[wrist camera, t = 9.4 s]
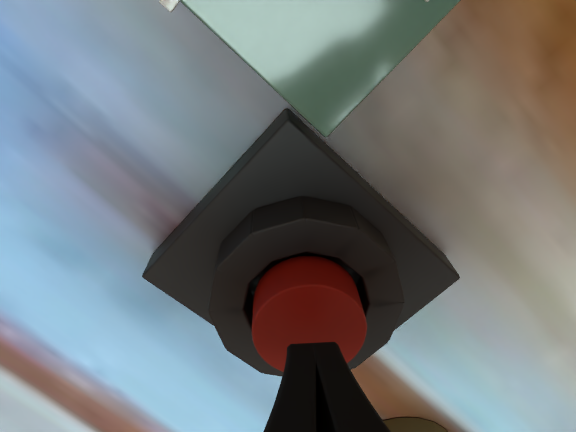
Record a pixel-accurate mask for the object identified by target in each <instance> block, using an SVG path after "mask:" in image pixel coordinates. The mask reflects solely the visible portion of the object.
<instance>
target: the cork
mask: <svg viewBox="0 0 576 432" xmlns="http://www.w3.org/2000/svg"><path fill="white" fill-rule="evenodd" d="M383 422H384V423H385V424H386V426H387V427H388V429H389V430H390V431H391V432H448V431H447V430H446V429H445V428H443V427H441V426H440V425H438V424H436V423H435V422H432V421H428V420H424V419H420V418H394V419H390V420H385V421H383Z"/></svg>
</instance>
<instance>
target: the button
mask: <svg viewBox="0 0 576 432" xmlns="http://www.w3.org/2000/svg"><path fill="white" fill-rule="evenodd" d="M366 332H367V322H366V317H365V314H364V310H363V307H362V304H361V300H360V297H359V294H358V290H357V287H356V284H355V282H354V280H353V278H352V277H351V275H350V274H349V273H348V272H347V271H346V270H345V269H344V268H343V267H341V266H340V265H339V264H337V263H335V262H333V261H331V260H328V259H326V258H322V257H317V256H298V257H294V258H290V259H287V260H284V261H282V262H280V263H278V264H276V265H275V266H273V267H272V268H271V269H269V270H268V271H267V272H266V273H265V274H264V275H263V277H262V278H261V279H260V281H259V283H258V285H257V287H256V290H255V293H254V301H253V317H252V339H253V343H254V346H255V348H256V350H257V352H258V353H259V354H260V356H261V357H262V358H263V359H264V360H265V361H266V362H267V363H268V364H270V365H271V366H272V367H274V368H276V369H278V370H280V371H282V372H284V368H285V363H286V356H287V347H288V346H289V345H290V344H299V343H319V342H336V343H337V344H338V345H339V348H340V350H341V352H342V354H343V357H344V359H345V361H346V363H348V362H349V361H351V360H352V359H353V358H354V357H355V356H356V354H357V353H358V352H359V350H360V349H361V347H362V345H363V343H364V341H365V337H366Z"/></svg>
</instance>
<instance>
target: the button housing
mask: <svg viewBox="0 0 576 432" xmlns="http://www.w3.org/2000/svg"><path fill="white" fill-rule="evenodd" d="M298 256H317V257H322V258H326V259H328V260H331V261H333V262H335V263H337V264H339V265H340V266H341V267H343V268H344V269H345V270H346V271H347V272H348V273H349V274H350V275H351V277H352V278H353V280H354V282H355V284H356V287H357V290H358V294H359V297H360V300H361V304H362V307H363V310H364V314H365V317H366V322H367V332H366V337H365V341H364V343H363V345H362V347H361V349H360V350H359V352H358V353H357V354H356V356H355V357H354V358H353V359H352V360H351V361H349V362H348V363H347V365H348V367H349V368H350V370H351V369H352V368H356V367H357V366H358V365H359V364H361V363H362V362H363V361H364V360H366V359H367V358H368V357H370V356H371V355H372V354H373V353H375V352H376V351H377V350H378V349H380V348H381V347H382V346H384V345H385V344H386V343H387V342H388V341H389V340H390V337H391V335H392V332H393V331H394V330H395V329H396V328H398V327H399V326H400V325H401V324H403V323H404V322H405V321H406V320H408V319H409V318H410V317H412V316H413V315H414V314H415V313H417V312H418V311H419V310H420V309H422V308H423V307H424V306H425V305H427V304H428V303H429V302H430V301H432V300H433V299H434V298H436V297H437V296H438V295H439V294H441V293H442V292H443V291H444V290H446V289H447V288H448V287H449V286H451V285H452V284H453V283H454V282H456V281H457V280H458V279H459V278H460V276H459V274H458V273H457V272H456V270H455V269H454V267H453V266H452V264H451V263H450V261H449V260H448V259H447V257H446V256H445V255H444V254H443V253H442V252H441V251H440V250H439V249H438V248H437V247H436V246H435V245H434V244H433V243H432V242H430V241H429V240H428V239H427V238H426V237H425V236H424V235H423V234H422V233H421V232H420V231H419V230H418V229H417V228H415V227H414V226H413V225H412V224H411V223H410V222H409V221H408V220H407V219H406V218H405V217H404V216H403V215H402V214H400V213H399V212H398V211H397V210H396V209H395V208H394V207H393V206H392V205H391V204H390V203H389V202H388V201H386V200H385V199H384V198H383V197H382V196H381V195H380V194H379V193H378V192H377V191H376V190H375V189H374V188H373V187H371V186H370V185H369V184H368V183H367V182H366V181H365V180H364V179H363V178H362V177H361V176H360V175H359V174H358V173H356V172H355V171H354V170H353V169H352V168H351V167H350V166H349V165H348V164H347V163H346V162H345V161H344V160H343V159H341V158H340V157H339V156H338V155H337V154H336V153H335V152H334V151H333V150H332V149H331V148H330V147H329V146H327V145H326V144H325V143H324V142H323V141H322V140H321V139H320V138H319V137H318V136H317V135H316V134H315V133H314V132H312V131H311V130H310V129H309V128H308V127H307V126H306V125H305V124H304V123H303V122H302V121H301V120H300V119H299V118H297V117H296V116H295V115H294V114H293V113H292V112H291V111H290V110H289V109H285V110H284V111H283V112H282V113H281V114H280V116H279V117H278V118H277V119H276V120H275V121H274V122H273V123H272V124H271V125H270V126H269V127H268V129H267V130H266V131H265V132H264V133H263V134H262V135H261V136H260V137H259V138H258V139H257V141H256V142H255V143H254V144H253V145H252V146H251V147H250V148H249V149H248V150H247V151H246V153H245V154H244V155H243V156H242V157H241V158H240V159H239V160H238V161H237V162H236V163H235V165H234V166H233V167H232V168H231V169H230V170H229V171H228V172H227V173H226V174H225V175H224V177H223V178H222V179H221V180H220V181H219V182H218V183H217V184H216V185H215V186H214V187H213V189H212V190H211V191H210V192H209V193H208V194H207V195H206V196H205V197H204V198H203V199H202V201H201V202H200V203H199V204H198V205H197V206H196V207H195V208H194V209H193V210H192V211H191V213H190V214H189V215H188V216H187V217H186V218H185V219H184V220H183V221H182V222H181V223H180V225H179V226H178V227H177V228H176V229H175V230H174V231H173V232H172V233H171V234H170V235H169V237H168V238H167V239H166V240H165V241H164V242H163V243H162V244H161V245H160V246H159V247H158V249H157V250H156V251H155V252H154V253H153V254H152V256H151V258H150V260H149V262H148V264H147V267H146V269H145V271H144V273H143V275H142V277H143V278H144V279H146V280H147V281H149V282H150V283H152V284H153V285H154V286H156V287H157V288H159V289H160V290H162V291H163V292H165V293H166V294H168V295H169V296H171V297H172V298H174V299H175V300H177V301H178V302H180V303H181V304H183V305H184V306H186V307H187V308H188V309H190V310H191V311H193V312H194V313H196V314H197V315H199V316H200V317H202V318H203V319H205V320H206V321H208V322H209V323H211V324H212V325H214V326H215V328H216V330H217V332H218V334H219V336H220V338H221V340H222V343H223V345H224V347H225V348H226V349H227V351H229V352H230V353H232V354H233V355H235V356H236V357H238V358H240V359H241V360H243V361H244V362H246V363H247V364H249V365H250V366H252V367H253V368H255V369H256V370H258V371H259V372H261V373H264V374H270V375H277V376H283V372H282V371H280V370H278V369H276V368H274V367H272V366H271V365H270V364H268V363H267V362H266V361H265V360H264V359H263V358H262V357H261V356H260V354H259V353H258V352H257V350H256V348H255V346H254V343H253V339H252V317H253V301H254V293H255V290H256V287H257V285H258V283H259V281H260V279H261V278H262V277H263V275H264V274H265V273H266V272H267V271H268V270H269V269H271V268H272V267H273V266H275V265H276V264H278V263H280V262H282V261H284V260H287V259H290V258H294V257H298Z"/></svg>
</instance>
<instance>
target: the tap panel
mask: <svg viewBox="0 0 576 432" xmlns="http://www.w3.org/2000/svg"><path fill="white" fill-rule="evenodd" d="M460 1H461V0H160V1H159V2H160V3H161V4H162V5H163V6H164V7H165V8H166V9H167V10H168V11H169V12H172V11H173V10H174V8H175V7H176V6H177V5H178V3H179V2H181V3H182V4H184V5H185V6H186V7H187V8H188V9H189V10H190V11H191V12H192V13H193V14H194V15H195V16H196V17H197V18H198V19H200V20H201V21H202V22H203V23H204V24H205V25H206V26H207V27H208V28H209V29H210V30H211V31H212V32H213V33H214V34H216V35H217V36H218V37H219V38H220V39H221V40H222V41H223V42H224V43H225V44H226V45H227V46H228V47H229V48H230V49H232V50H233V51H234V52H235V53H236V54H237V55H238V56H239V57H240V58H241V59H242V60H243V61H244V62H245V63H246V64H248V65H249V66H250V67H251V68H252V69H253V70H254V71H255V72H256V73H257V74H258V75H259V76H260V77H261V78H262V79H263V80H265V81H266V82H267V83H268V84H269V85H270V86H271V87H272V88H273V89H274V90H275V91H276V92H277V93H278V94H279V95H281V96H282V97H283V98H284V99H285V100H286V101H287V102H288V103H289V104H290V105H291V106H292V107H293V108H294V109H295V110H297V111H298V112H299V113H300V114H301V115H302V116H303V117H304V118H305V119H306V120H307V121H308V122H309V123H310V124H311V125H313V126H314V127H315V128H316V129H317V130H318V131H319V132H320V133H321V134H322V135H323V136H324V137H327V136H328V135H329V134H330V133H331V132H332V131H333V130H334V129H335V128H336V127H337V126H338V125H339V124H340V123H341V122H342V121H343V120H344V119H345V118H346V117H347V116H348V115H349V114H350V113H351V112H352V111H353V110H354V109H355V108H356V107H357V106H358V105H359V104H360V103H361V102H362V101H363V100H364V99H365V98H366V97H367V96H368V95H369V94H370V92H371V91H372V90H373V89H374V88H375V87H376V86H377V85H378V84H379V83H380V82H381V81H382V80H383V79H384V78H385V77H386V76H387V75H388V74H389V73H390V72H391V71H392V70H393V69H394V68H395V67H396V66H397V65H398V64H399V63H400V62H401V61H402V60H403V59H404V58H405V57H406V56H407V55H408V54H409V53H410V52H411V51H412V50H413V49H414V48H415V47H416V45H417V44H418V43H419V42H420V41H421V40H422V39H423V38H424V37H425V36H426V35H427V34H428V33H429V32H430V31H431V30H432V29H433V28H434V27H435V26H436V25H437V24H438V23H439V22H440V21H441V20H442V19H443V18H444V17H445V16H446V15H447V14H448V13H449V12H450V11H451V10H452V9H453V8H454V7H455V6H456V5H457V4H458V3H459V2H460Z"/></svg>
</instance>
